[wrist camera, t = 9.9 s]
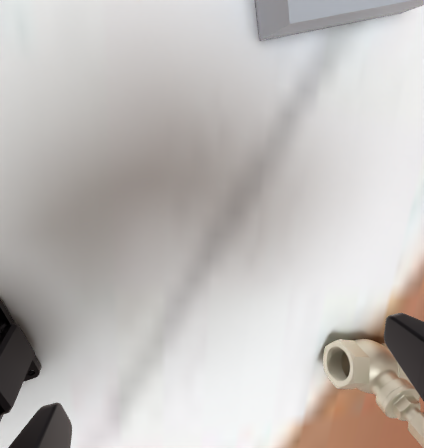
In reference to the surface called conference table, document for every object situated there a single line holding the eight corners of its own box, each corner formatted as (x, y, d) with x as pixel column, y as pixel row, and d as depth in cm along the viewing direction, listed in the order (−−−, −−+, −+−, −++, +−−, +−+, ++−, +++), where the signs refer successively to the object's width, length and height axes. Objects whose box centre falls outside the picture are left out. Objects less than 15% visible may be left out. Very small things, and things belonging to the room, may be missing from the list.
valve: (337, 313, 25) (492, 470, 14) (394, 321, 27) (567, 462, 16) (308, 373, 27) (424, 552, 16) (363, 376, 29) (499, 536, 18)
